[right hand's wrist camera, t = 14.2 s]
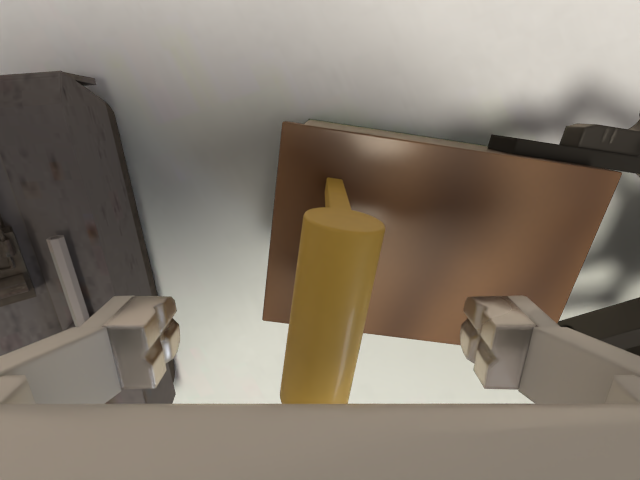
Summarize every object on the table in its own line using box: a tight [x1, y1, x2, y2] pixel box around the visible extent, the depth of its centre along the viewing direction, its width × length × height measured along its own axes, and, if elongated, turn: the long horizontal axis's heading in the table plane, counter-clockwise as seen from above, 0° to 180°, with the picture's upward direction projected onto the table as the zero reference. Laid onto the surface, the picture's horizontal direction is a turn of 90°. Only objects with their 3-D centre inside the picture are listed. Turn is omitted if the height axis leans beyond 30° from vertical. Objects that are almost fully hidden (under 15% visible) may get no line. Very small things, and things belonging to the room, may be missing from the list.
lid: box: [263, 121, 622, 404], centre depth 13 cm, size 15×10×8 cm, turn 82°
